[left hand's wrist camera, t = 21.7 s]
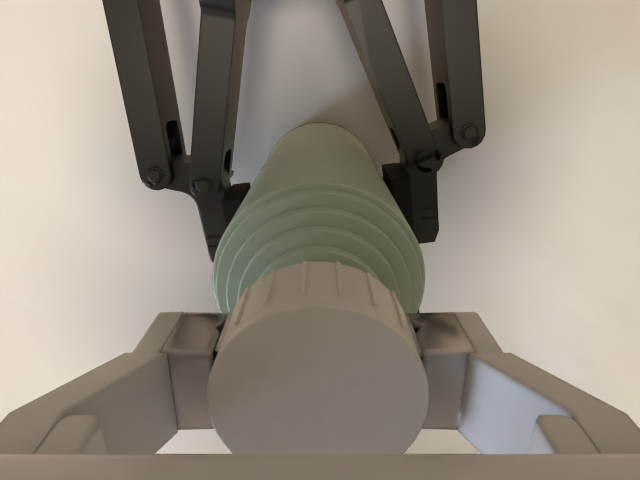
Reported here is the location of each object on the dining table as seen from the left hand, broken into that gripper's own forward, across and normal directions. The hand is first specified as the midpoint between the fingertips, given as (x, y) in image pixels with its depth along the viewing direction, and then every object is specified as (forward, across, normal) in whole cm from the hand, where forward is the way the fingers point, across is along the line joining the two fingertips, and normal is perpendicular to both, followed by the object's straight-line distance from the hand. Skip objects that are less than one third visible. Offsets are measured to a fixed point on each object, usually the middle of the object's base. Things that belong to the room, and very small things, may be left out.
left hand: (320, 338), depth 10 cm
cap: (-2, 0, 0) cm, 2 cm away
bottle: (+16, 0, 0) cm, 16 cm away
